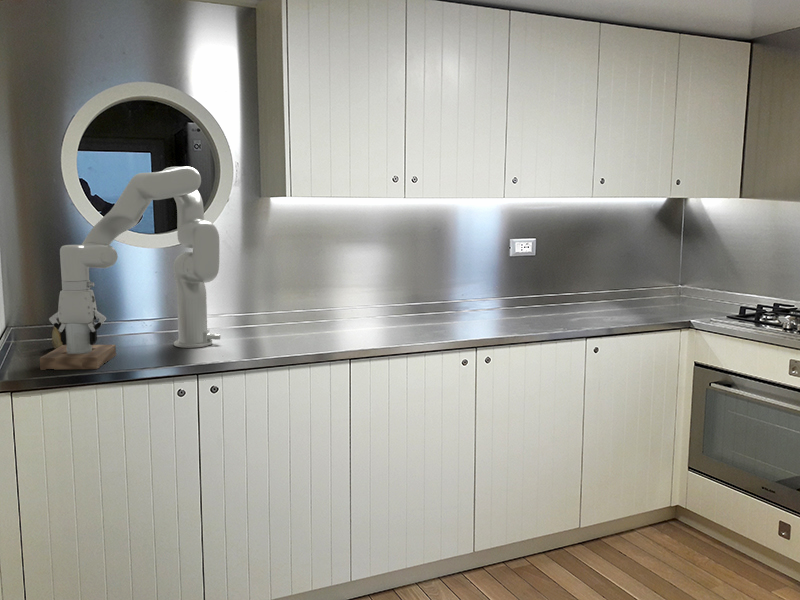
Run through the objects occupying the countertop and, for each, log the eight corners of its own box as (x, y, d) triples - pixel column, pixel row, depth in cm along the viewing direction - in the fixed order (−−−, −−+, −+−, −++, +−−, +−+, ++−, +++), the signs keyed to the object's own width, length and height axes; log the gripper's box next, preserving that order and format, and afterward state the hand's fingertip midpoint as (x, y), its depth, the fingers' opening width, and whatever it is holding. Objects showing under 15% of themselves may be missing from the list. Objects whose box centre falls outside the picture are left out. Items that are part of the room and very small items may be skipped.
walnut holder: (115, 355, 225) (115, 344, 224) (97, 368, 207) (96, 357, 207) (63, 356, 223) (62, 345, 223) (40, 369, 206) (39, 357, 205)
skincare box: (85, 358, 219) (84, 320, 217) (92, 360, 216) (91, 322, 215) (66, 361, 214) (64, 322, 213) (73, 363, 212) (71, 324, 210)
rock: (43, 341, 235) (41, 342, 226) (59, 319, 237) (57, 320, 227) (73, 358, 238) (72, 361, 229) (89, 337, 240) (88, 338, 231)
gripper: (109, 284, 217) (112, 341, 219) (50, 284, 215) (54, 342, 217) (101, 287, 209) (105, 346, 212) (40, 287, 207) (44, 347, 210)
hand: (79, 343), depth 215 cm, fingers open, 7 cm apart
